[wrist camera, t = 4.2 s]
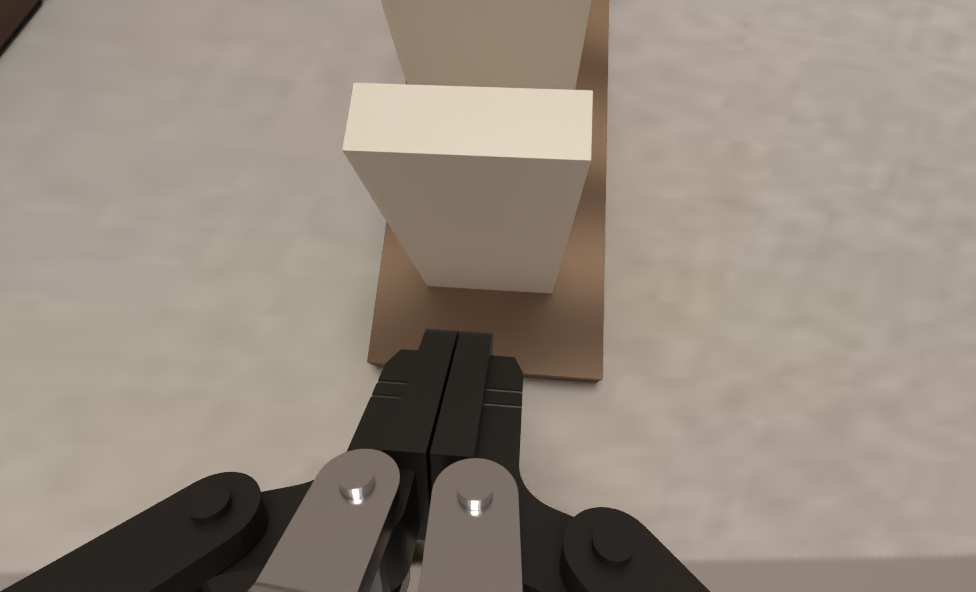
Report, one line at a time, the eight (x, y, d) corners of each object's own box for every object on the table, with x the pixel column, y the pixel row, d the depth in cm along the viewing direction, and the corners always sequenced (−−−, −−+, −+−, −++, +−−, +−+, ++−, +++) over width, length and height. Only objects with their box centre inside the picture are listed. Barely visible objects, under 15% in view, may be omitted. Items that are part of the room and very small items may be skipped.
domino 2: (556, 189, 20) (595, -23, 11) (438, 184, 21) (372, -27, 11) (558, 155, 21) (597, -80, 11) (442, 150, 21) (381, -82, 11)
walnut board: (597, 381, 19) (602, 379, 18) (375, 366, 20) (367, 362, 19) (607, -140, 27) (611, -165, 25) (443, -139, 27) (440, -165, 26)
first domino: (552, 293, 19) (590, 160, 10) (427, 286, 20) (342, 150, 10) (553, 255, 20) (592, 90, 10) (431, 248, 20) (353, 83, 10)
